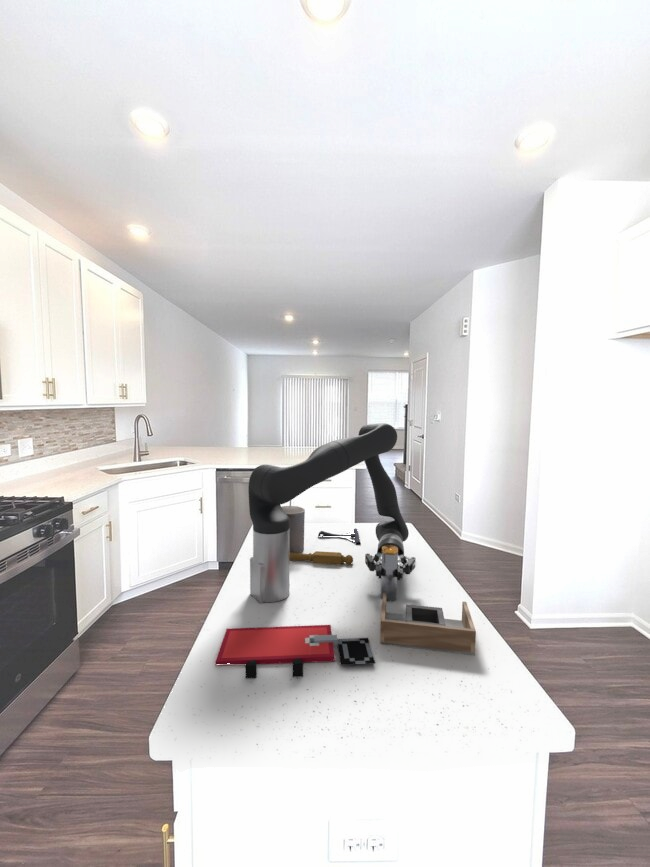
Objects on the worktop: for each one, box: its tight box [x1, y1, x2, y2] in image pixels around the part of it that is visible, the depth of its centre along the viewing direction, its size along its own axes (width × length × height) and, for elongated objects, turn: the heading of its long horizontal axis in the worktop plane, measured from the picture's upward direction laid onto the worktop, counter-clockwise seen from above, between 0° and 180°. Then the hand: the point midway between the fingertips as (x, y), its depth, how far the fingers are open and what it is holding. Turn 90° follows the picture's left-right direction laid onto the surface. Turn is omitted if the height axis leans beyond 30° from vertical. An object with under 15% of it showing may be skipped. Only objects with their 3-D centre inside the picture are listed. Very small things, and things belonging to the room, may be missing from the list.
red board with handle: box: [215, 624, 376, 679], centre depth 80 cm, size 30×3×15 cm
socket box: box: [379, 594, 477, 656], centre depth 86 cm, size 12×19×5 cm, turn 79°
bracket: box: [317, 528, 361, 545], centre depth 146 cm, size 14×15×3 cm
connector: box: [380, 545, 398, 603], centre depth 101 cm, size 4×4×13 cm
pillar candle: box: [281, 505, 306, 553], centre depth 133 cm, size 10×10×15 cm
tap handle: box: [289, 550, 354, 566], centre depth 124 cm, size 3×3×30 cm
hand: (389, 575), depth 98 cm, fingers closed on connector, 4 cm apart
